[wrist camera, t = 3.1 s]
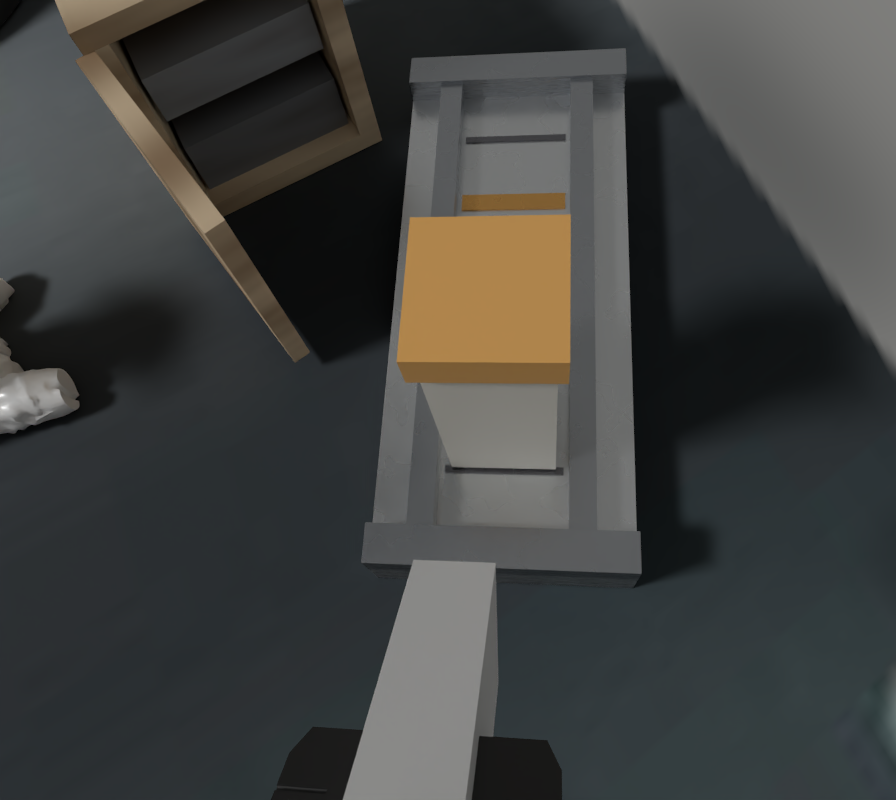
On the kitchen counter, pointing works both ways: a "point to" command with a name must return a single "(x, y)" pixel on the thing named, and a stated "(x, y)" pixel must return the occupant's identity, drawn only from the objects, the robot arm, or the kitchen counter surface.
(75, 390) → the sitting furry creature
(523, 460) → the fader knob
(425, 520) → the fader track
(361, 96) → the wooden cabinet
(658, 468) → the kitchen counter surface
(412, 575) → the robot arm
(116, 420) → the kitchen counter surface
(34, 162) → the kitchen counter surface
